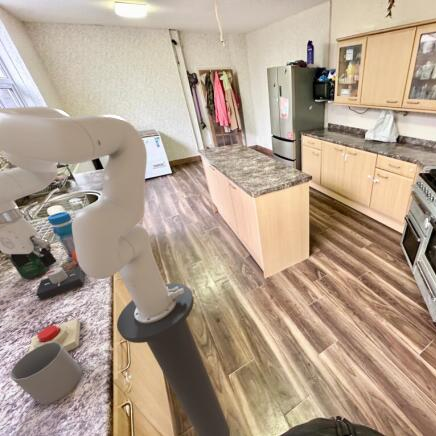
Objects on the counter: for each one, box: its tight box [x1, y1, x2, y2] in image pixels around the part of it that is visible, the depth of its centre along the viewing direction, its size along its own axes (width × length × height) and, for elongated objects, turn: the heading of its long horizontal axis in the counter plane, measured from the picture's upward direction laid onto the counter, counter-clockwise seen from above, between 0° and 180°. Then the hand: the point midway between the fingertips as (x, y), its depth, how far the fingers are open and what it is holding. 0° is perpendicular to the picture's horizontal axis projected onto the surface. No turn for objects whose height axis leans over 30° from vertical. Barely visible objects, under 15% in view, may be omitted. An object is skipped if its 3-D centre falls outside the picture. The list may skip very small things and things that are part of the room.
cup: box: [9, 342, 83, 406], centre depth 54 cm, size 8×8×10 cm
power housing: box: [27, 317, 81, 353], centre depth 65 cm, size 10×10×4 cm
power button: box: [37, 324, 60, 342], centre depth 64 cm, size 4×4×2 cm
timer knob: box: [45, 266, 68, 284], centre depth 86 cm, size 4×4×4 cm
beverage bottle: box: [47, 211, 75, 260], centre depth 102 cm, size 8×8×20 cm
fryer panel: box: [35, 266, 86, 301], centre depth 87 cm, size 12×9×3 cm
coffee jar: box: [5, 247, 50, 280], centre depth 92 cm, size 10×8×19 cm
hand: (37, 264), depth 74 cm, fingers open, 9 cm apart
